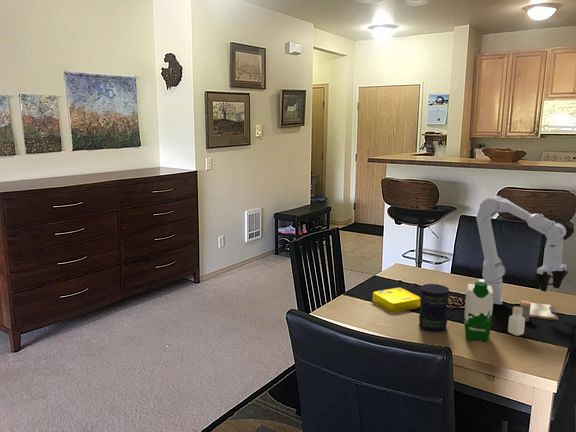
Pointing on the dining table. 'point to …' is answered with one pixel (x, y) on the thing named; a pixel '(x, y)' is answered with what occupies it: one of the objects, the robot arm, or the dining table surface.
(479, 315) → the milk carton
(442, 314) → the storage jar
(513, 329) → the salt shaker
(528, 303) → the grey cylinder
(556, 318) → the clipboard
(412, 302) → the element tile
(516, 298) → the dining table surface
